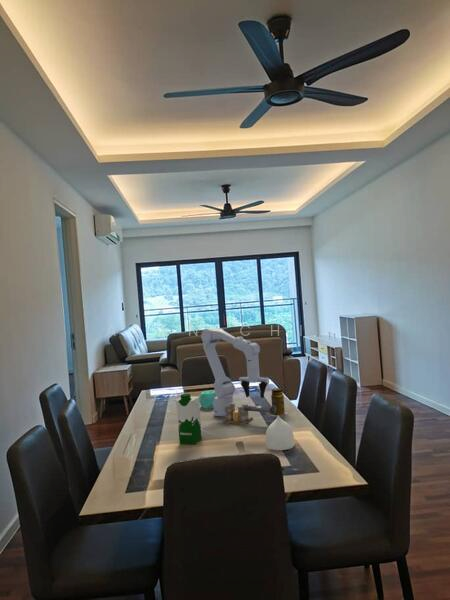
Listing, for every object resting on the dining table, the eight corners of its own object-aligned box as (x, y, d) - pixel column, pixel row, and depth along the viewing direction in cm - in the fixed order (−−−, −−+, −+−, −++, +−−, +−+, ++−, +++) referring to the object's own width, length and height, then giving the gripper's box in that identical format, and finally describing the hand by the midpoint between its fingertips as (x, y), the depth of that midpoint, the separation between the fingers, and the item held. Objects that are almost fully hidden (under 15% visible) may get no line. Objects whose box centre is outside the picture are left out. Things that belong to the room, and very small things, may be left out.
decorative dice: (210, 409, 232) (209, 394, 232) (199, 407, 237) (198, 392, 237) (220, 405, 238) (219, 390, 238) (208, 404, 243) (207, 389, 243)
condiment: (288, 413, 214) (286, 389, 214) (275, 417, 209) (273, 392, 209) (278, 410, 220) (277, 387, 220) (265, 414, 215) (264, 389, 215)
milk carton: (176, 444, 179) (173, 395, 179) (185, 437, 187) (182, 390, 187) (196, 445, 176) (192, 396, 176) (204, 438, 184) (201, 391, 184)
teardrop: (275, 438, 178) (273, 409, 177) (299, 443, 171) (297, 412, 170) (260, 447, 169) (258, 416, 169) (284, 452, 162) (282, 420, 162)
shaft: (243, 413, 202) (243, 405, 202) (247, 411, 205) (246, 403, 205) (273, 415, 195) (272, 407, 195) (276, 413, 198) (276, 405, 198)
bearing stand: (223, 423, 204) (222, 407, 204) (233, 417, 213) (232, 402, 213) (243, 425, 199) (242, 408, 199) (252, 419, 207) (251, 403, 207)
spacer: (233, 422, 204) (232, 412, 204) (236, 419, 209) (236, 409, 209) (238, 423, 203) (237, 412, 203) (241, 419, 208) (240, 409, 208)
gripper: (235, 369, 207) (237, 398, 208) (263, 370, 200) (265, 399, 201) (242, 367, 214) (244, 394, 214) (269, 367, 207) (271, 396, 207)
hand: (255, 397), depth 208 cm, fingers open, 7 cm apart
